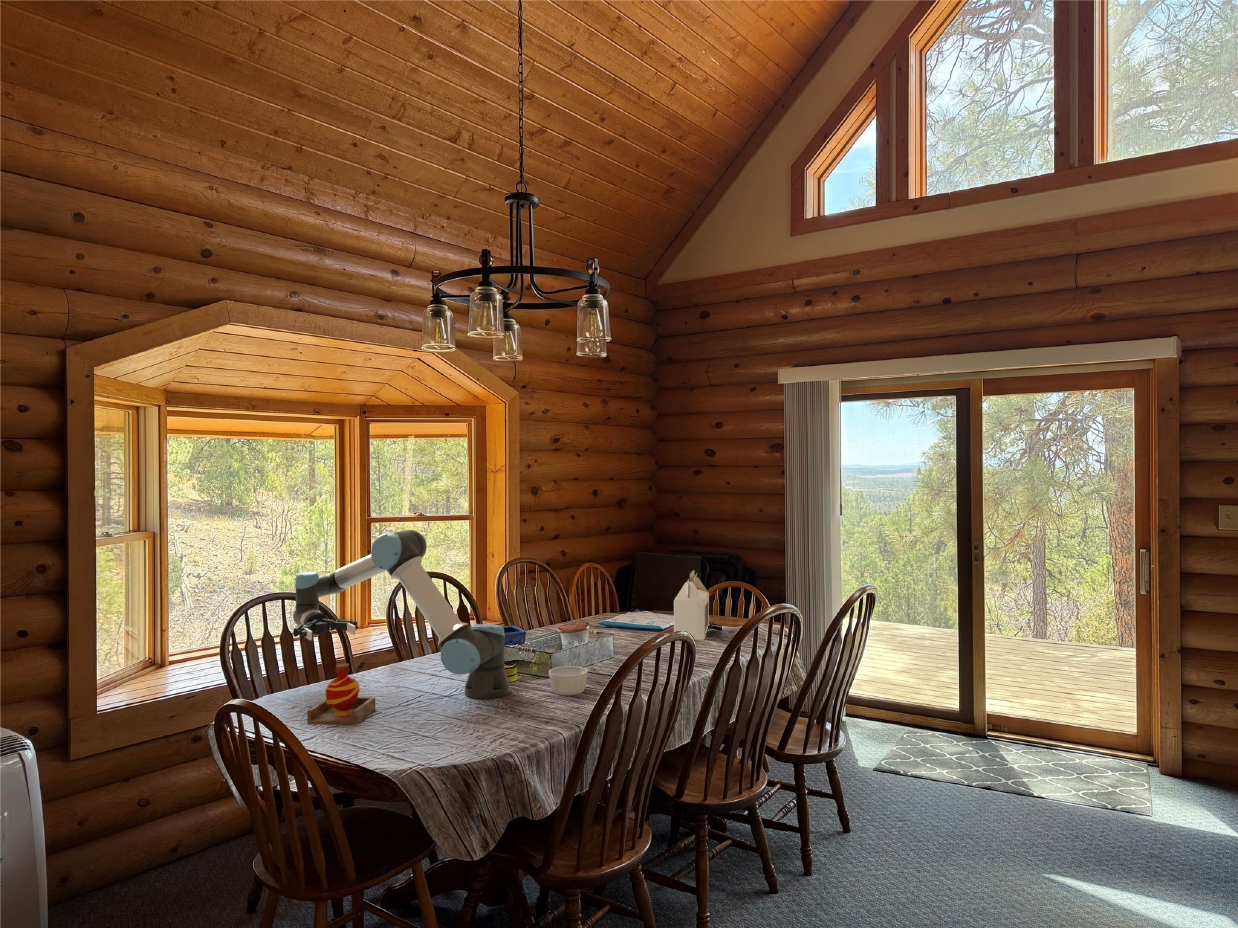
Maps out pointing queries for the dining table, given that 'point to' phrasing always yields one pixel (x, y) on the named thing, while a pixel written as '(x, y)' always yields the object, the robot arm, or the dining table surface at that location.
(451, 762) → the dining table surface
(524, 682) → the dining table surface
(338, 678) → the potion bottle
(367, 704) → the u rest
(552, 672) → the ramekin
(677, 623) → the gable box
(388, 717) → the dining table surface
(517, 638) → the flower pot
